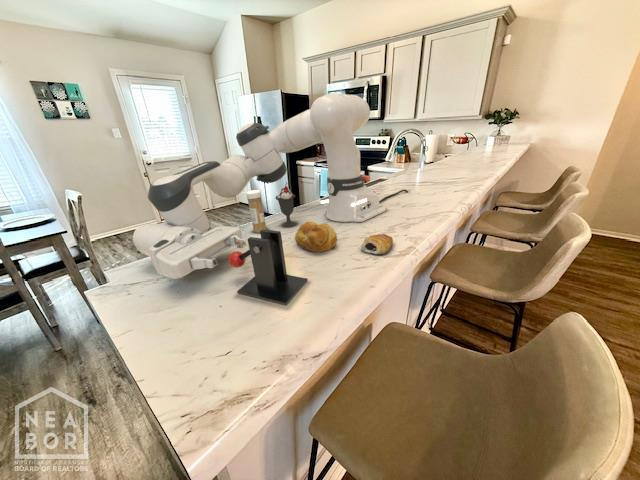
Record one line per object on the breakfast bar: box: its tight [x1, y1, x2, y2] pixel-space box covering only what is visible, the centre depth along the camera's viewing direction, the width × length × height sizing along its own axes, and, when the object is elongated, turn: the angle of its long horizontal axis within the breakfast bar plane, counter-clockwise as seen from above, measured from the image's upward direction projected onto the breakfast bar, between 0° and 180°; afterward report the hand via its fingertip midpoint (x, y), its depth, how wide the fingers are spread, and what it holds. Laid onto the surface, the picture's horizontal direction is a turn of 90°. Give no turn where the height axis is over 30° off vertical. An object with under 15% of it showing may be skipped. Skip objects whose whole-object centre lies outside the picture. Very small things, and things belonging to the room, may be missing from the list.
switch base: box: [236, 229, 309, 307], centre depth 54 cm, size 12×9×13 cm
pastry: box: [360, 233, 394, 255], centre depth 70 cm, size 9×7×4 cm
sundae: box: [275, 181, 297, 228], centre depth 89 cm, size 7×7×15 cm
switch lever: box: [227, 234, 276, 269], centre depth 55 cm, size 13×4×4 cm
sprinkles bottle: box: [245, 189, 268, 234], centre depth 86 cm, size 5×5×14 cm
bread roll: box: [294, 221, 338, 254], centre depth 73 cm, size 13×10×8 cm
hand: (230, 253), depth 58 cm, fingers open, 8 cm apart
